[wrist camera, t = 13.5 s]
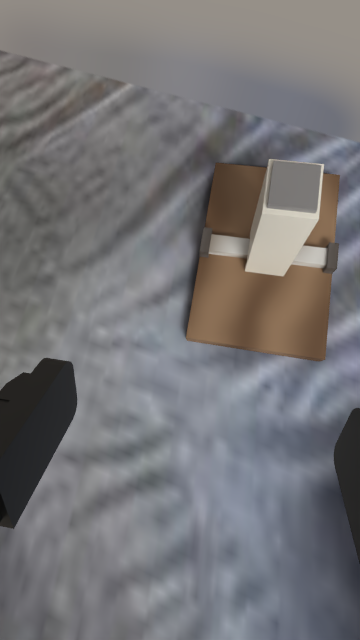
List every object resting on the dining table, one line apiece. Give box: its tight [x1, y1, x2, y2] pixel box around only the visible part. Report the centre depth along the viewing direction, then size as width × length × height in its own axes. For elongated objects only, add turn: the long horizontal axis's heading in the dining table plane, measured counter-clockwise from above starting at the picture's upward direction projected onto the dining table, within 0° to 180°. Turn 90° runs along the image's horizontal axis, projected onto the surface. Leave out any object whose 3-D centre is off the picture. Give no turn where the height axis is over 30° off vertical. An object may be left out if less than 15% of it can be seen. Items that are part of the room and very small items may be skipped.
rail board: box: [186, 163, 340, 361], centre depth 32 cm, size 12×18×3 cm, turn 170°
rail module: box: [245, 159, 324, 276], centre depth 27 cm, size 4×4×10 cm
